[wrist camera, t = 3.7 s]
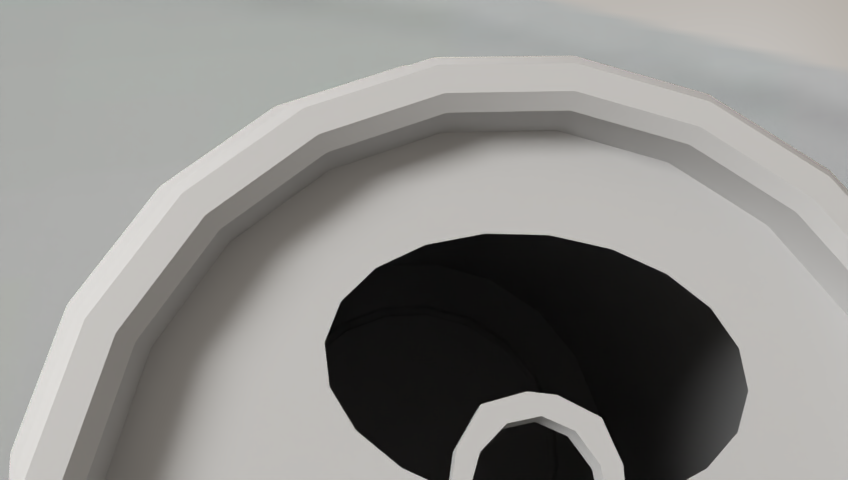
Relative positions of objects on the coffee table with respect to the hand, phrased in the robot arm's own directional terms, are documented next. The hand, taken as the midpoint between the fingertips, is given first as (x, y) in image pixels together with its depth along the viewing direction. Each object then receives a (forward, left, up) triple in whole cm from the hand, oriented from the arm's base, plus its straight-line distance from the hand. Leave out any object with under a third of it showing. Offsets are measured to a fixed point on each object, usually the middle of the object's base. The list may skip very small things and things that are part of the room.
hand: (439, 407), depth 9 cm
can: (-1, 0, -7) cm, 7 cm away
